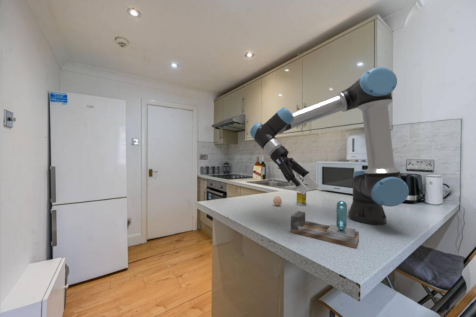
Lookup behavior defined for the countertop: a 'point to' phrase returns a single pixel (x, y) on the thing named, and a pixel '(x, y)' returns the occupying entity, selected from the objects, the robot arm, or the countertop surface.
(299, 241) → the countertop surface
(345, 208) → the sliding jaw
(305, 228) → the press base
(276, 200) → the egg
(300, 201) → the supplement bottle
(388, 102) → the robot arm
